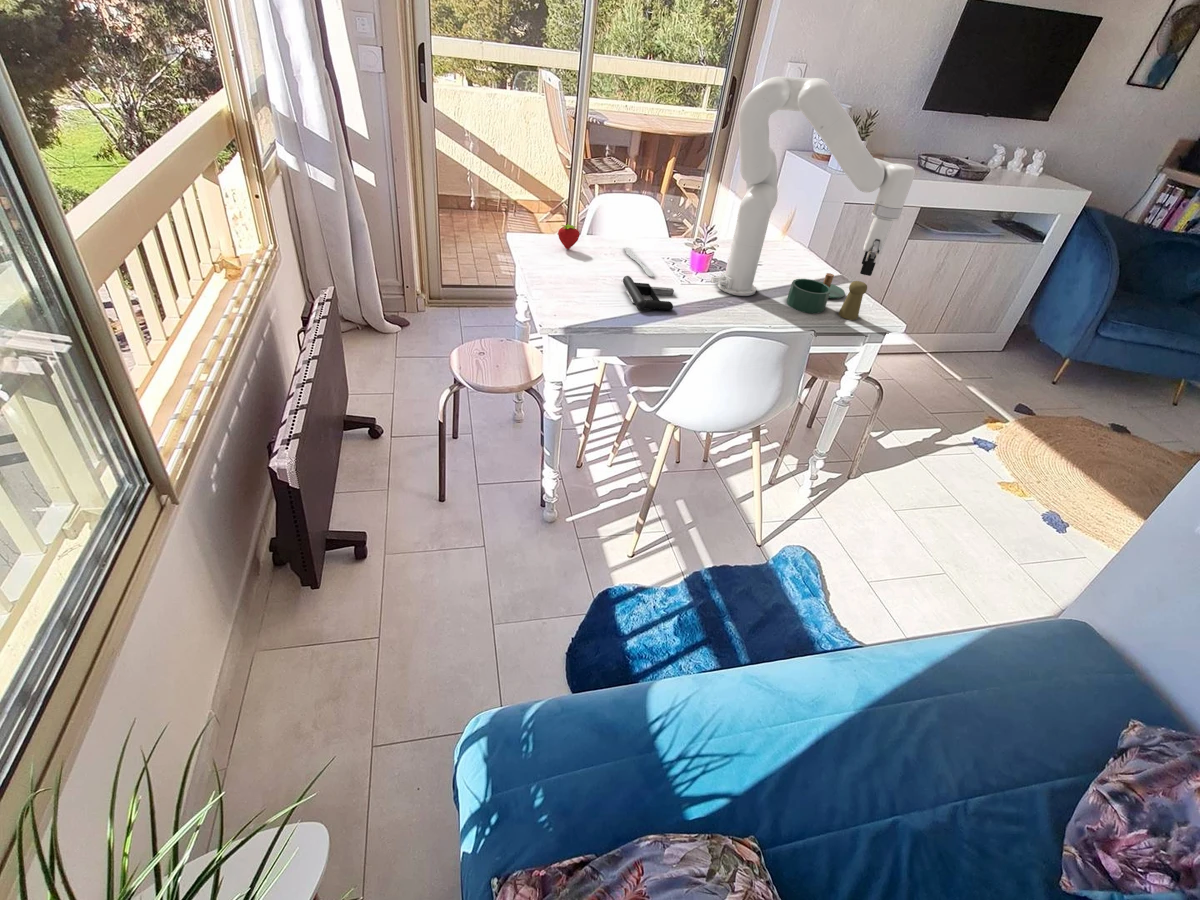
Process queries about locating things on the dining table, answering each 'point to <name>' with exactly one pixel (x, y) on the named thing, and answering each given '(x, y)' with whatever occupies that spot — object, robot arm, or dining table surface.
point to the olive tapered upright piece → (853, 300)
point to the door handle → (645, 289)
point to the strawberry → (568, 235)
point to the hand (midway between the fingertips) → (866, 269)
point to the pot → (808, 295)
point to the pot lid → (833, 287)
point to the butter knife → (639, 262)
